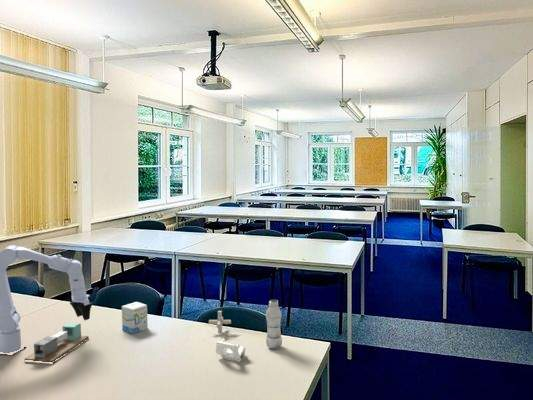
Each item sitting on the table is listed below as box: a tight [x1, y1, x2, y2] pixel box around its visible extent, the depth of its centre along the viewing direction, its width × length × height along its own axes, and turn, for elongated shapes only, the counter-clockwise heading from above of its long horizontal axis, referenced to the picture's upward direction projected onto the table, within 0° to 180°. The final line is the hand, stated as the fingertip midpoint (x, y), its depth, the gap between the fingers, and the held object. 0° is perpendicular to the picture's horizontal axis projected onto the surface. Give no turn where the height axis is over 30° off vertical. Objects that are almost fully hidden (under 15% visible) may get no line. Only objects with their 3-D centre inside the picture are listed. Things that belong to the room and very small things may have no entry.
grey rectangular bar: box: [39, 330, 68, 351], centre depth 172 cm, size 3×13×3 cm, turn 170°
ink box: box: [121, 301, 149, 334], centre depth 196 cm, size 8×8×12 cm
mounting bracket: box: [215, 338, 246, 363], centre depth 166 cm, size 12×6×11 cm, turn 62°
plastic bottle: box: [265, 299, 283, 350], centre depth 174 cm, size 6×7×20 cm
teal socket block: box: [62, 322, 82, 340], centre depth 184 cm, size 6×4×6 cm
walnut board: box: [24, 335, 89, 362], centre depth 175 cm, size 12×24×2 cm, turn 170°
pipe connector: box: [208, 310, 232, 334], centre depth 191 cm, size 10×10×10 cm
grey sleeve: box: [33, 335, 58, 359], centre depth 168 cm, size 5×8×6 cm, turn 170°
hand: (83, 317), depth 184 cm, fingers open, 7 cm apart
